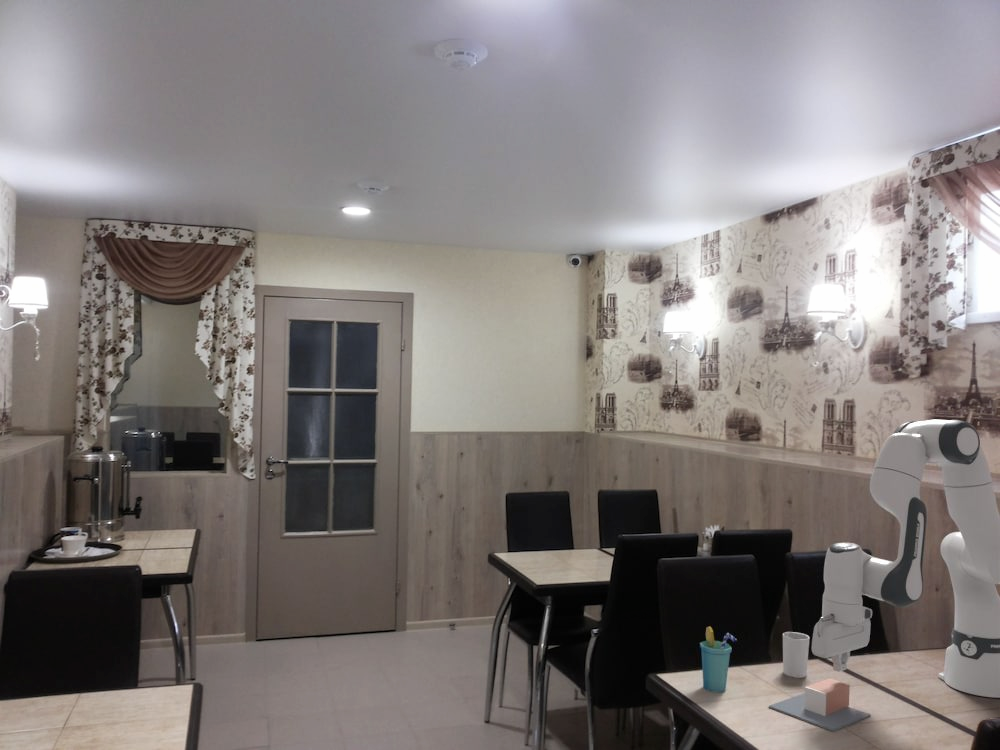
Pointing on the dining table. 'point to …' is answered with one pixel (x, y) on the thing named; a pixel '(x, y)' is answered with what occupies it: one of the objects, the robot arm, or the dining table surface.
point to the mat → (828, 722)
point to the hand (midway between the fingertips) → (839, 670)
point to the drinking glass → (795, 654)
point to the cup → (715, 661)
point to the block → (826, 696)
